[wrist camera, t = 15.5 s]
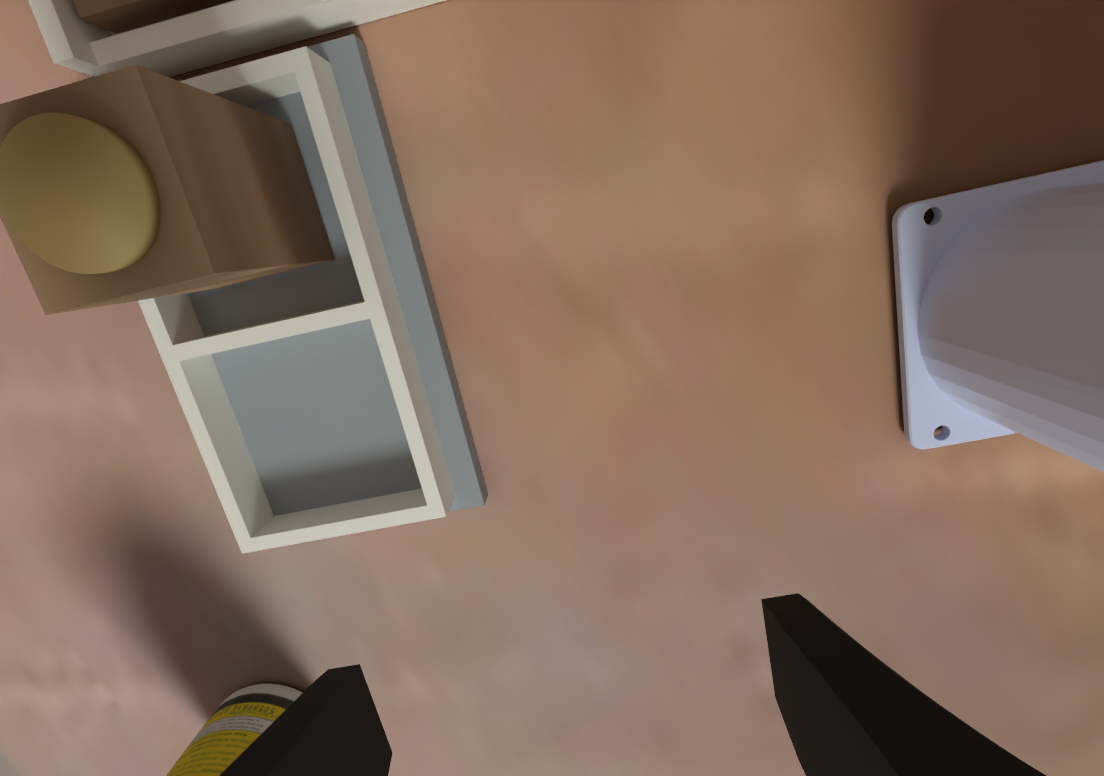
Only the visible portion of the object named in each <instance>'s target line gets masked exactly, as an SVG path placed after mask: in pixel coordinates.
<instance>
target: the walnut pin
mask: <svg viewBox="0 0 1104 776" xmlns="http://www.w3.org/2000/svg"><path fill="white" fill-rule="evenodd" d="M0 217H1V220H2V222H3V224H4V226H5V228H6V230H7V233H8V235H9V237H10V239H11V241H12V243H13V245H14V248H15V250H16V252H17V254H18V256H19V258H20V260H21V263H22V265H23V267H24V269H25V271H26V273H27V276H28V278H29V280H30V282H31V284H32V286H33V288H34V291H35V293H36V295H37V297H38V299H39V301H40V303H41V306H42V308H43V310H44V312H45V314H46V315H48V314H54V313H61V312H67V311H74V310H80V309H87V308H93V307H100V306H106V305H112V304H119V303H125V302H132V301H138V300H145V299H151V298H158V297H164V296H171V295H177V294H183V293H190V292H196V291H203V290H209V289H216V288H221V287H225V286H229V285H233V284H237V283H241V282H245V281H250V280H254V279H258V278H262V277H266V276H270V275H274V274H278V273H282V272H287V271H291V270H295V269H299V268H303V267H307V266H311V265H315V264H320V263H324V262H328V261H332V260H335V258H334V255H333V252H332V249H331V246H330V243H329V240H328V236H327V233H326V230H325V227H324V224H323V221H322V218H321V215H320V212H319V208H318V205H317V202H316V199H315V196H314V193H313V190H312V187H311V184H310V181H309V177H308V174H307V171H306V168H305V165H304V162H303V159H302V156H301V153H300V149H299V146H298V143H297V140H296V137H295V134H294V131H293V128H292V125H291V124H290V123H288V122H285V121H282V120H280V119H277V118H274V117H272V116H269V115H267V114H264V113H261V112H259V111H256V110H253V109H251V108H248V107H245V106H243V105H240V104H238V103H235V102H232V101H230V100H227V99H224V98H222V97H219V96H217V95H214V94H211V93H209V92H206V91H203V90H201V89H198V88H196V87H193V86H190V85H188V84H185V83H182V82H180V81H177V80H175V79H172V78H169V77H167V76H164V75H161V74H159V73H156V72H154V71H151V70H148V69H146V68H143V67H140V66H138V65H133V66H130V67H126V68H123V69H120V70H116V71H113V72H109V73H106V74H102V75H99V76H96V77H92V78H89V79H85V80H82V81H78V82H75V83H72V84H68V85H65V86H61V87H58V88H54V89H51V90H48V91H44V92H41V93H37V94H34V95H30V96H27V97H24V98H20V99H17V100H13V101H10V102H6V103H3V104H0Z"/></svg>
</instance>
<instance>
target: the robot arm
mask: <svg viewBox="0 0 1104 776" xmlns="http://www.w3.org/2000/svg"><path fill="white" fill-rule="evenodd" d="M929 208H930V209H932V210H933V213H934V218H933V220H932V221H931V223H930V224H926V223H925V221H924V214H925V212H926V211H927V210H928V209H929ZM892 236H893V252H894V269H895V286H896V302H897V319H898V336H899V353H900V369H901V386H902V403H903V419H904V435H905V439H906V441H907V442H908V443H909V444H911V445H912V446H914V447H916V448H918V449H930V448H935V447H941V446H946V445H952V444H958V443H963V442H969V441H974V440H980V439H986V438H991V437H997V436H1002V435H1008V434H1014V433H1019V434H1021V435H1023V436H1025V437H1027V438H1030V439H1032V440H1034V441H1036V442H1038V443H1041V444H1043V445H1045V446H1047V447H1049V448H1052V449H1054V450H1056V451H1058V452H1060V453H1063V454H1065V455H1067V456H1069V457H1071V458H1074V459H1076V460H1078V461H1080V462H1082V463H1085V464H1087V465H1089V466H1091V467H1093V468H1096V469H1098V470H1100V471H1102V472H1104V160H1103V161H1098V162H1093V163H1089V164H1084V165H1080V166H1075V167H1071V168H1066V169H1062V170H1057V171H1053V172H1048V173H1044V174H1039V175H1035V176H1030V177H1026V178H1021V179H1016V180H1012V181H1007V182H1003V183H998V184H994V185H989V186H985V187H980V188H976V189H971V190H967V191H962V192H958V193H953V194H949V195H944V196H940V197H935V198H930V199H926V200H921V201H917V202H912V203H908V204H905V205H903V206H901V207H900V208H899V209H898V210H897V211H896V212H895V214H894V216H893V219H892ZM941 425H942V427H943V429H942V432H941V433H940V434H939V435H937V436H934V435H933V434H934V430H935V429H936V428H937V427H939V426H941ZM761 600H762V607H763V614H764V621H765V628H766V635H767V642H768V649H769V656H770V663H771V670H772V677H773V684H774V691H775V697H776V700H777V703H778V706H779V708H780V711H781V714H782V716H783V719H784V722H785V725H786V727H787V730H788V733H789V735H790V738H791V741H792V743H793V746H794V748H795V751H796V754H797V756H798V759H799V762H800V764H801V766H802V768H803V770H804V772H805V774H806V776H1046V775H1044V774H1043V773H1041V772H1039V771H1038V770H1036V769H1034V768H1033V767H1031V766H1030V765H1028V764H1026V763H1025V762H1023V761H1021V760H1020V759H1018V758H1017V757H1015V756H1014V755H1012V754H1011V753H1009V752H1008V751H1006V750H1004V749H1003V748H1001V747H1000V746H998V745H997V744H995V743H994V742H992V741H991V740H989V739H988V738H986V737H985V736H983V735H982V734H980V733H979V732H978V731H976V730H975V729H973V728H972V727H970V726H969V725H967V724H966V723H965V722H963V721H962V720H960V719H959V718H957V717H956V716H955V715H953V714H952V713H950V712H949V711H947V710H946V709H945V708H943V707H942V706H940V705H939V704H938V703H936V702H935V701H933V700H932V699H931V698H929V697H928V696H927V695H925V694H924V693H922V692H921V691H920V690H918V689H917V688H916V687H914V686H913V685H912V684H911V683H909V682H908V681H907V680H905V679H904V678H903V677H901V676H900V675H899V674H897V673H896V672H895V671H893V670H892V669H891V668H890V667H888V666H887V665H886V664H884V663H883V662H882V661H880V660H879V659H878V658H877V657H875V656H874V655H873V654H872V653H870V652H869V651H868V650H866V649H865V648H864V647H863V646H862V645H860V644H859V643H858V642H857V641H855V640H854V639H853V638H852V637H851V636H849V635H848V634H847V633H846V632H844V631H843V630H842V629H841V628H840V627H838V626H837V625H836V624H835V623H834V622H832V621H831V620H830V619H829V618H828V617H827V616H825V615H824V614H823V613H822V612H821V611H820V610H818V609H817V608H816V607H815V606H814V605H812V604H811V603H810V602H809V601H808V600H807V599H805V598H804V597H803V596H801V595H800V594H792V595H785V596H779V597H773V598H767V599H761ZM391 757H392V750H391V748H390V745H389V742H388V740H387V737H386V734H385V732H384V729H383V726H382V723H381V721H380V718H379V715H378V713H377V710H376V707H375V705H374V702H373V699H372V697H371V694H370V691H369V688H368V686H367V683H366V680H365V678H364V675H363V672H362V670H361V667H360V664H359V665H353V666H347V667H341V668H334V669H328V670H327V671H326V672H325V673H324V674H323V675H321V676H320V677H319V678H318V679H317V680H316V681H315V682H314V683H313V684H312V685H310V686H309V687H308V688H307V689H306V690H305V691H304V692H303V693H302V694H301V695H300V696H299V697H298V698H297V699H296V700H295V701H294V702H293V703H292V704H291V705H290V706H289V707H288V708H287V709H286V710H285V711H284V712H283V713H282V714H281V715H280V716H279V717H278V718H277V719H276V720H275V721H274V722H273V723H272V724H271V725H270V726H269V727H268V728H267V729H266V730H265V731H264V732H263V733H262V734H261V735H260V736H259V737H258V738H257V739H256V740H255V741H254V742H253V743H252V744H251V745H250V746H249V747H248V748H247V749H246V750H245V751H244V752H243V753H241V754H240V755H239V756H238V757H237V758H236V759H235V760H234V761H233V762H232V763H231V764H230V765H229V766H228V767H227V768H226V769H225V770H224V771H223V772H222V773H221V774H220V775H219V776H388V772H389V767H390V762H391Z"/></svg>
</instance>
